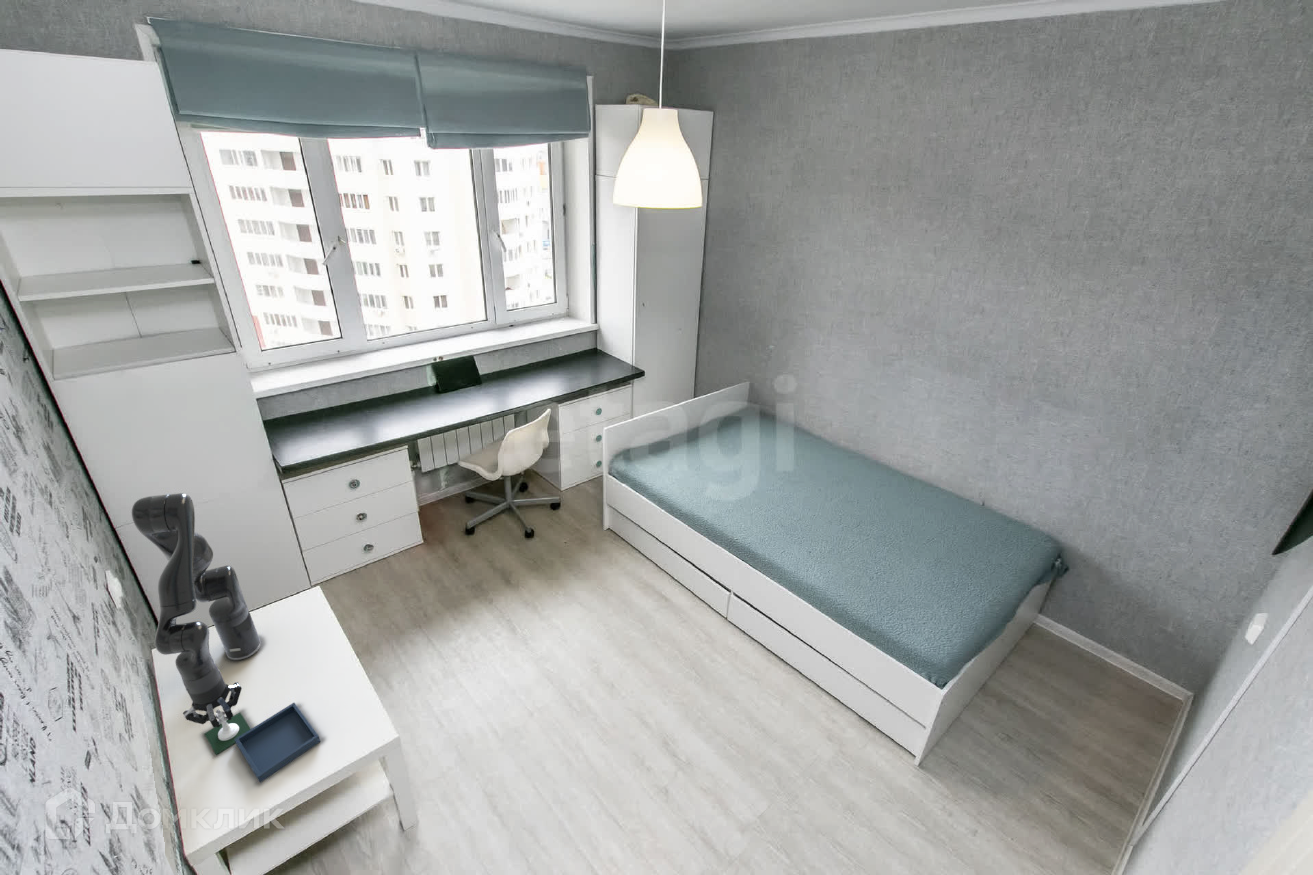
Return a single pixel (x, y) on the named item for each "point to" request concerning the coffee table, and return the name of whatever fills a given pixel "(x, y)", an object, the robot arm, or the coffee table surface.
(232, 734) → the chess piece
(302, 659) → the coffee table surface
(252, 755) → the tray
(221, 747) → the pad
